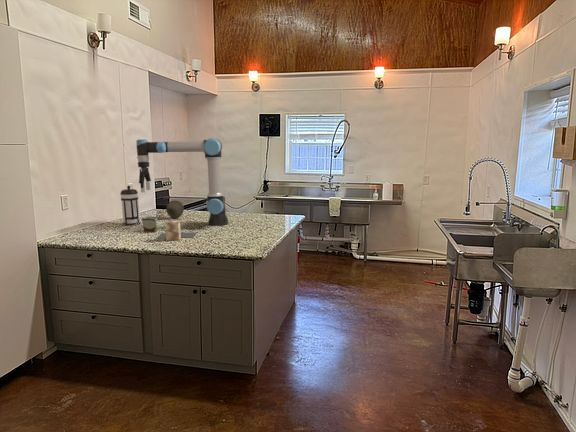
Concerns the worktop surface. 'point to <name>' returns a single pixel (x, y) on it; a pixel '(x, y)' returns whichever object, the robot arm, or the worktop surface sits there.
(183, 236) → the rubber mat
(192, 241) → the worktop surface
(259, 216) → the worktop surface
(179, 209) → the cantaloupe
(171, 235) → the maple block
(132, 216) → the coffee press
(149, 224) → the food container
